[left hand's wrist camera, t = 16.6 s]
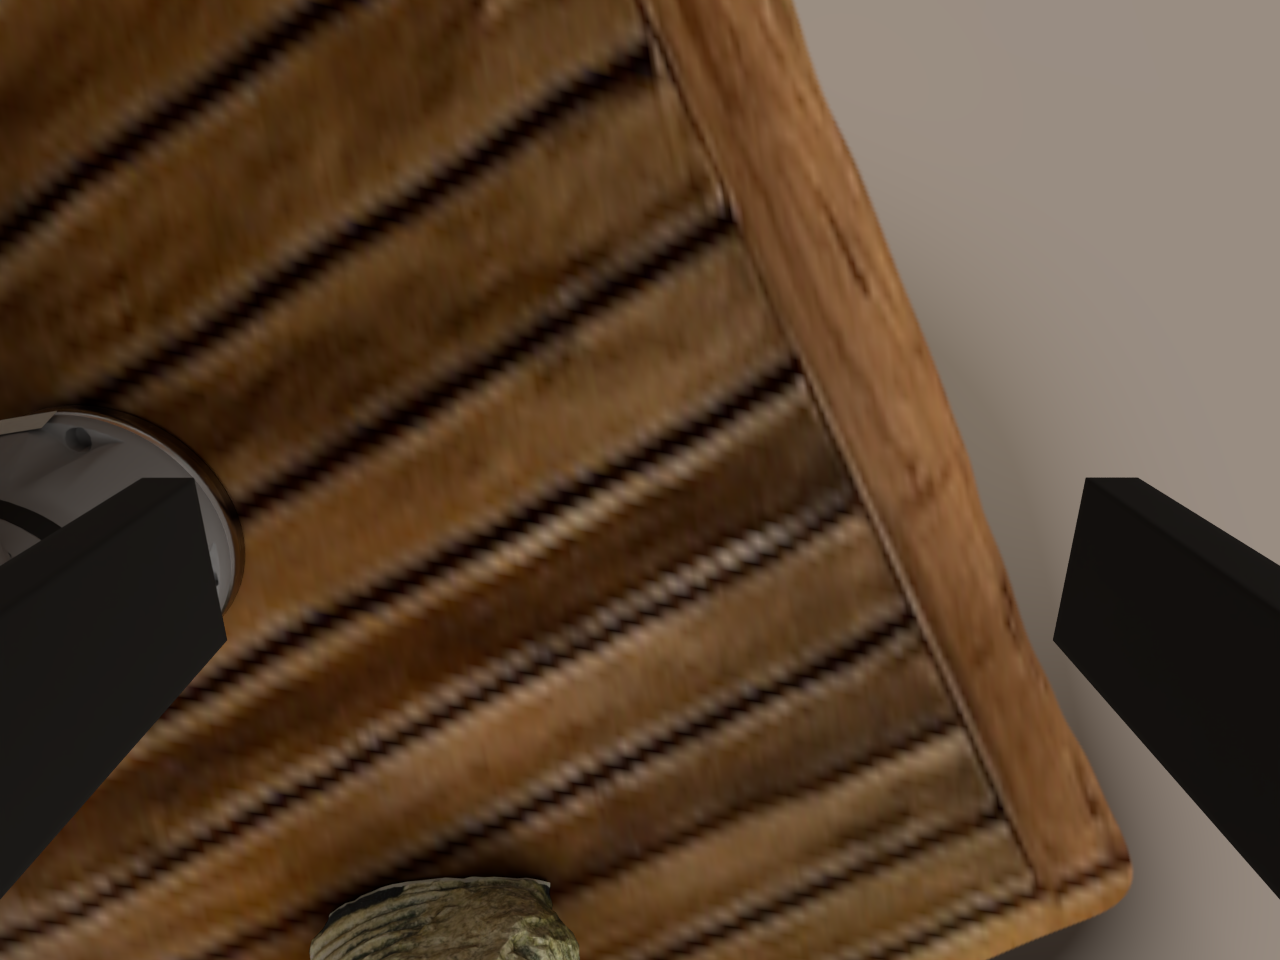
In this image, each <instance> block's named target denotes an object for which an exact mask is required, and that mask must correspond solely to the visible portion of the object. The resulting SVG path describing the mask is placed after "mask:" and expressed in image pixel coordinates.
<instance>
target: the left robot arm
mask: <svg viewBox="0 0 1280 960" xmlns="http://www.w3.org/2000/svg"><path fill="white" fill-rule="evenodd" d="M244 563H245V548H244V539H243V534H242V529H241V525H240V522H239V519H238V516H237V513H236V511H235V508H234V506H233V504H232V502H231V500H230V498H229V496H228V494H227V492H226V491H225V489H224V487H223V486H222V485H221V483H220V482H219V480H218V479H217V477H216V476H215V475H214V474H213V472H212V471H211V470H210V469H209V467H208V466H207V465H206V464H205V463H204V462H203V461H202V460H201V459H200V458H199V457H198V456H197V455H196V454H195V453H194V452H193V451H192V450H190V449H189V448H188V447H187V446H186V445H184V444H183V443H182V442H180V441H179V440H178V439H176V438H175V437H174V436H172V435H170V434H169V433H167V432H166V431H164V430H163V429H161V428H159V427H157V426H155V425H153V424H151V423H149V422H147V421H145V420H142V419H140V418H138V417H135V416H133V415H130V414H127V413H124V412H120V411H116V410H112V409H108V408H103V407H96V406H86V405H64V406H56V407H50V408H45V409H41V410H37V411H35V412H32V413H29V414H26V415H24V416H21V417H17V418H11V419H4V420H0V899H1V898H2V897H3V896H4V894H5V893H6V892H7V891H8V890H9V889H10V888H11V886H12V885H13V884H14V883H15V882H16V881H17V880H18V878H19V877H20V876H21V875H22V874H23V873H24V872H25V870H26V869H27V868H28V867H29V866H30V865H31V864H32V862H33V861H34V860H35V859H36V858H37V857H38V856H39V854H40V853H41V852H42V851H43V850H44V849H45V848H46V846H47V845H48V844H49V843H50V842H51V841H52V840H53V838H54V837H55V836H56V835H57V834H58V833H59V832H60V830H61V829H62V828H63V827H64V826H65V825H66V824H67V822H68V821H69V820H70V819H71V818H72V817H73V816H74V814H75V813H76V812H77V811H78V810H79V809H80V808H81V806H82V805H83V804H84V803H85V802H86V801H87V800H88V798H89V797H90V796H91V795H92V794H93V793H94V792H95V790H96V789H97V788H98V787H99V786H100V785H101V784H102V782H103V781H104V780H105V779H106V778H107V777H108V776H109V774H110V773H111V772H112V771H113V770H114V769H115V768H116V766H117V765H118V764H119V763H120V762H121V761H122V760H123V758H124V757H125V756H126V755H127V754H128V753H129V752H130V751H131V749H132V748H133V747H134V746H135V745H136V744H137V743H138V741H139V740H140V739H141V738H142V737H143V736H144V735H145V733H146V732H147V731H148V730H149V729H150V728H151V727H152V725H153V724H154V723H155V722H156V721H157V720H158V719H159V717H160V716H161V715H162V714H163V713H164V712H165V711H166V709H167V708H168V707H169V706H170V705H171V704H172V703H173V701H174V700H175V699H176V698H177V697H178V696H179V695H180V693H181V692H182V691H183V690H184V689H185V688H186V687H187V685H188V684H189V683H190V682H191V681H192V680H193V679H194V677H195V676H196V675H197V674H198V673H199V672H200V671H201V669H202V668H203V667H204V666H205V665H206V664H207V663H208V661H209V660H210V659H211V658H212V657H213V656H214V655H215V653H216V652H217V651H218V650H219V649H220V648H221V647H222V645H223V644H224V643H225V642H226V641H227V637H226V632H225V627H224V622H223V616H224V614H225V613H226V612H227V610H228V609H229V608H230V606H231V605H232V603H233V601H234V599H235V597H236V595H237V593H238V590H239V587H240V585H241V581H242V577H243V572H244ZM1053 641H1054V642H1055V643H1056V644H1057V645H1058V647H1059V648H1060V649H1061V650H1062V651H1063V652H1064V653H1065V655H1066V656H1067V657H1068V658H1069V659H1070V660H1071V661H1072V662H1073V664H1074V665H1075V666H1076V667H1077V668H1078V669H1079V671H1080V672H1081V673H1082V674H1083V675H1084V676H1085V677H1086V678H1087V680H1088V681H1089V682H1090V683H1091V684H1092V685H1093V687H1094V688H1095V689H1096V690H1097V691H1098V692H1099V693H1100V695H1101V696H1102V697H1103V698H1104V699H1105V700H1106V701H1107V702H1108V704H1109V705H1110V706H1111V707H1112V708H1113V709H1114V711H1115V712H1116V713H1117V714H1118V715H1119V716H1120V717H1121V719H1122V720H1123V721H1124V722H1125V723H1126V724H1127V725H1128V726H1129V728H1130V729H1131V730H1132V731H1133V732H1134V733H1135V734H1136V736H1137V737H1138V738H1139V739H1140V740H1141V741H1142V743H1143V744H1144V745H1145V746H1146V747H1147V748H1148V749H1149V750H1150V752H1151V753H1152V754H1153V755H1154V756H1155V757H1156V758H1157V760H1158V761H1159V762H1160V763H1161V764H1162V765H1163V766H1164V768H1165V769H1166V770H1167V771H1168V772H1169V773H1170V774H1171V776H1172V777H1173V778H1174V779H1175V780H1176V781H1177V782H1178V784H1179V785H1180V786H1181V787H1182V788H1183V789H1184V790H1185V792H1186V793H1187V794H1188V795H1189V796H1190V797H1191V798H1192V800H1193V801H1194V802H1195V803H1196V804H1197V805H1198V806H1199V808H1200V809H1201V810H1202V811H1203V812H1204V813H1205V814H1206V816H1207V817H1208V818H1209V819H1210V820H1211V821H1212V822H1213V824H1214V825H1215V826H1216V827H1217V828H1218V829H1219V830H1220V832H1221V833H1222V834H1223V835H1224V836H1225V837H1226V838H1227V840H1228V841H1229V842H1230V843H1231V844H1232V845H1233V846H1234V848H1235V849H1236V850H1237V851H1238V852H1239V853H1240V854H1241V856H1242V857H1243V858H1244V859H1245V860H1246V861H1247V862H1248V863H1249V865H1250V866H1251V867H1252V868H1253V869H1254V870H1255V872H1256V873H1257V874H1258V875H1259V876H1260V877H1261V878H1262V880H1263V881H1264V882H1265V883H1266V884H1267V885H1268V886H1269V888H1270V889H1271V890H1272V891H1273V892H1274V893H1275V894H1276V896H1277V897H1278V898H1279V899H1280V566H1279V565H1278V564H1276V563H1274V562H1273V561H1271V560H1270V559H1268V558H1266V557H1265V556H1263V555H1262V554H1260V553H1258V552H1257V551H1255V550H1254V549H1252V548H1250V547H1249V546H1247V545H1245V544H1244V543H1242V542H1241V541H1239V540H1237V539H1236V538H1234V537H1233V536H1231V535H1229V534H1228V533H1226V532H1225V531H1223V530H1221V529H1220V528H1218V527H1216V526H1215V525H1213V524H1212V523H1210V522H1208V521H1207V520H1205V519H1204V518H1202V517H1200V516H1199V515H1197V514H1196V513H1194V512H1192V511H1191V510H1189V509H1188V508H1186V507H1184V506H1183V505H1181V504H1179V503H1178V502H1176V501H1175V500H1173V499H1171V498H1170V497H1168V496H1167V495H1165V494H1163V493H1162V492H1160V491H1159V490H1157V489H1155V488H1154V487H1152V486H1150V485H1149V484H1147V483H1146V482H1144V481H1142V480H1141V479H1139V478H1086V479H1085V484H1084V489H1083V494H1082V499H1081V504H1080V509H1079V514H1078V519H1077V524H1076V529H1075V533H1074V538H1073V543H1072V548H1071V553H1070V558H1069V563H1068V568H1067V573H1066V578H1065V583H1064V588H1063V593H1062V598H1061V603H1060V608H1059V613H1058V617H1057V622H1056V627H1055V632H1054V637H1053Z"/></svg>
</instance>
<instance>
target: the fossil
mask: <svg viewBox="0 0 1280 960" xmlns="http://www.w3.org/2000/svg"><path fill="white" fill-rule="evenodd" d="M549 891H550V883H549V882H545V881H541V880H536V879H531V878H518V879H517V878H505V877H468V878H465V879H459V878H437V879H428V880H419V881H409V882H403V883H398V884H392V885H389V886H385V887H381V888H379V889H377V890H375V891H372V892H370V893H367V894H365V895H362V896H360V897H359V898H358V899H356V900H355V901H352V902H348V903H345V904H344V905H342V906H340V907H339V908H338V909H336V910H335V911H333V912H332V913H331V914H330V915H329V919H328V921H327V923H326V924H325V926H324V928H323V929H322V930H321V932H320V933H319V934H318V935H317V936H316V937H315V938H314V939H313V940H312V942H311V946H310V951H309V953H310V959H311V960H580V958H579V944H578V942H577V940H576V938H575V936H574V934H573V932H572V931H571V930H569V929H568V928H567V927H566V926H565V924H564V923H563V922H562V921H561V920H560V919H559V917H558V915H557V913H556V912H554V911H553V910H552V906H553V905H552V902H551V898H550V895H549Z"/></svg>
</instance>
